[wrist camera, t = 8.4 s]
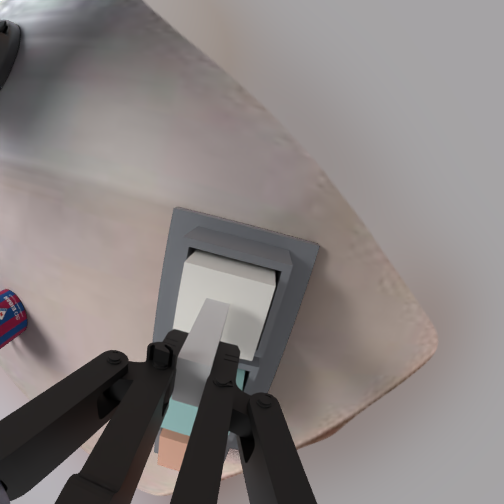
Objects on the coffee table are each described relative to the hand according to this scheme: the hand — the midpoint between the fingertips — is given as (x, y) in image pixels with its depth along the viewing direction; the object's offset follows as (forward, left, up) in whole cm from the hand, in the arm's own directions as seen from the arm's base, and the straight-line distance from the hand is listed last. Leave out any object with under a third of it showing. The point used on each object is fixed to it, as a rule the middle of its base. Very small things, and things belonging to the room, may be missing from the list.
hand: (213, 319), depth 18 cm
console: (+9, 0, -9) cm, 13 cm away
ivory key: (0, 0, -6) cm, 6 cm away
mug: (+16, -31, -10) cm, 36 cm away
